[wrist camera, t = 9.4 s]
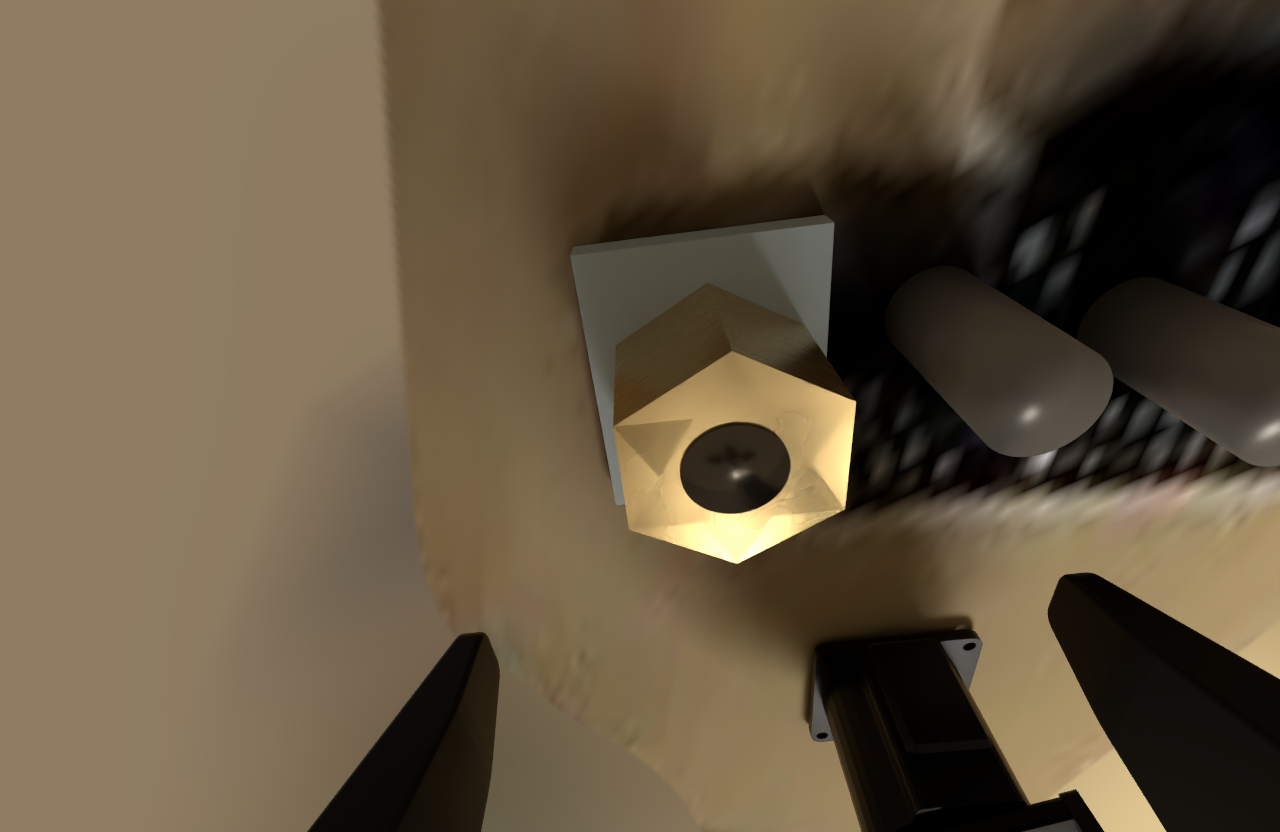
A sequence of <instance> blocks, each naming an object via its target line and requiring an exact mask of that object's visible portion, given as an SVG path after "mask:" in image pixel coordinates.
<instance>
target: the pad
mask: <svg viewBox="0 0 1280 832" xmlns="http://www.w3.org/2000/svg"><path fill="white" fill-rule="evenodd" d="M833 237H834V222H833V221H832V220H830V219H829V218H828V217H827V216H825V215H820V216H812V217H804V218H796V219H788V220H780V221H772V222H764V223H756V224H748V225H740V226H732V227H724V228H717V229H709V230H701V231H693V232H685V233H677V234H669V235H661V236H653V237H645V238H637V239H629V240H622V241H614V242H606V243H598V244H590V245H582V246H574V247H572V251H571V254H570V258H571V264H572V269H573V274H574V280H575V285H576V291H577V296H578V302H579V307H580V312H581V318H582V323H583V329H584V334H585V340H586V345H587V350H588V356H589V361H590V367H591V372H592V378H593V383H594V388H595V394H596V399H597V405H598V410H599V416H600V421H601V426H602V432H603V437H604V443H605V448H606V454H607V459H608V464H609V470H610V475H611V481H612V486H613V491H614V497H615V502H616V505H623V504H625V499H624V493H623V487H622V480H621V474H620V468H619V461H618V455H617V449H616V442H615V436H614V430H613V414H614V385H615V356H616V345H617V344H618V343H620V342H621V341H623V340H624V339H626V338H627V337H629V336H630V335H631V334H633V333H634V332H636V331H637V330H639V329H640V328H642V327H643V326H645V325H646V324H647V323H649V322H650V321H652V320H653V319H655V318H656V317H658V316H659V315H661V314H662V313H663V312H665V311H666V310H668V309H669V308H671V307H672V306H674V305H675V304H677V303H678V302H679V301H681V300H682V299H684V298H685V297H687V296H688V295H690V294H691V293H693V292H694V291H695V290H697V289H698V288H700V287H701V286H703V285H704V284H706V283H710V284H712V285H714V286H716V287H719V288H721V289H723V290H726V291H728V292H730V293H732V294H735V295H737V296H739V297H742V298H744V299H746V300H749V301H751V302H753V303H755V304H758V305H760V306H762V307H765V308H767V309H769V310H771V311H774V312H776V313H778V314H781V315H783V316H785V317H788V318H790V319H792V320H794V321H797V322H799V323H801V324H804V325H805V326H806V328H807V329H808V331H809V332H810V334H811V335H812V337H813V338H814V340H815V341H816V343H817V344H818V346H819V347H820V349H821V350H822V352H823V353H824V355H825V356H826V358H827V342H828V324H829V307H830V289H831V272H832V255H833Z"/></svg>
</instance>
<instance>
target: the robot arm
mask: <svg viewBox="0 0 1280 832" xmlns="http://www.w3.org/2000/svg"><path fill="white" fill-rule="evenodd" d="M1048 619H1049V623H1050V625H1051V628H1052V630H1053V632H1054V634H1055V636H1056V638H1057V640H1058V642H1059V644H1060V646H1061V648H1062V650H1063V652H1064V654H1065V656H1066V658H1067V660H1068V662H1069V664H1070V666H1071V668H1072V670H1073V672H1074V674H1075V676H1076V678H1077V680H1078V682H1079V684H1080V686H1081V688H1082V690H1083V692H1084V694H1085V696H1086V698H1087V700H1088V702H1089V704H1090V706H1091V708H1092V710H1093V712H1094V714H1095V716H1096V717H1097V719H1098V721H1099V723H1100V725H1101V726H1102V728H1103V730H1104V731H1105V733H1106V735H1107V737H1108V738H1109V740H1110V741H1111V743H1112V745H1113V746H1114V748H1115V750H1116V751H1117V752H1118V754H1119V756H1120V758H1121V759H1122V761H1123V762H1124V764H1125V765H1126V767H1127V769H1128V770H1129V772H1130V774H1131V775H1132V777H1133V778H1134V780H1135V782H1136V783H1137V785H1138V786H1139V788H1140V790H1141V791H1142V793H1143V795H1144V796H1145V798H1146V799H1147V801H1148V803H1149V804H1150V805H1151V807H1152V809H1153V811H1154V812H1155V814H1156V815H1157V817H1158V819H1159V820H1160V822H1161V823H1162V825H1163V827H1164V828H1165V830H1166V831H1167V832H1280V679H1278V678H1277V677H1275V676H1273V675H1271V674H1270V673H1268V672H1266V671H1265V670H1263V669H1261V668H1259V667H1258V666H1256V665H1254V664H1252V663H1251V662H1249V661H1247V660H1245V659H1244V658H1242V657H1240V656H1238V655H1237V654H1235V653H1233V652H1231V651H1230V650H1228V649H1226V648H1224V647H1223V646H1221V645H1219V644H1217V643H1216V642H1214V641H1212V640H1210V639H1209V638H1207V637H1205V636H1203V635H1202V634H1200V633H1198V632H1196V631H1195V630H1193V629H1191V628H1189V627H1188V626H1186V625H1184V624H1182V623H1181V622H1179V621H1177V620H1175V619H1174V618H1172V617H1170V616H1168V615H1167V614H1165V613H1163V612H1162V611H1160V610H1158V609H1156V608H1155V607H1153V606H1151V605H1149V604H1148V603H1146V602H1144V601H1142V600H1141V599H1139V598H1137V597H1135V596H1134V595H1132V594H1130V593H1128V592H1127V591H1125V590H1123V589H1121V588H1120V587H1118V586H1116V585H1114V584H1113V583H1111V582H1109V581H1107V580H1106V579H1104V578H1102V577H1100V576H1098V575H1096V574H1093V573H1076V574H1067V575H1064V576H1062V577H1061V578H1060V579H1059V581H1058V584H1057V586H1056V589H1055V591H1054V594H1053V597H1052V599H1051V602H1050V604H1049V607H1048ZM981 648H982V641H981V639H980V638H979V636H978V635H977V633H976V632H975V631H972V630H960V631H950V632H939V633H928V634H918V635H907V636H896V637H885V638H875V639H864V640H853V641H842V642H832V643H824V644H821V645H819V646H817V647H816V648H815V649H814V652H813V668H812V684H811V700H810V716H809V731H810V734H811V738H812V739H813V740H814V741H817V742H825V741H834V743H835V746H836V749H837V753H838V756H839V759H840V763H841V766H842V769H843V772H844V776H845V779H846V782H847V785H848V789H849V792H850V795H851V799H852V802H853V805H854V808H855V812H856V815H857V818H858V822H859V825H860V828H861V831H862V832H1104V831H1103V829H1102V828H1101V826H1100V825H1099V823H1098V822H1097V820H1096V819H1095V817H1094V816H1093V814H1092V813H1091V811H1090V810H1089V808H1088V806H1087V805H1086V804H1085V802H1084V800H1083V799H1082V797H1081V796H1080V795H1079V793H1078V792H1077V790H1076V789H1075V790H1072V791H1068V792H1064V793H1060V794H1059V798H1055V799H1051V800H1047V801H1043V802H1039V803H1035V804H1031V805H1030V803H1029V801H1028V799H1027V797H1026V795H1025V793H1024V792H1023V790H1022V788H1021V786H1020V784H1019V782H1018V781H1017V779H1016V777H1015V775H1014V773H1013V771H1012V769H1011V768H1010V766H1009V764H1008V762H1007V760H1006V758H1005V757H1004V755H1003V753H1002V751H1001V749H1000V747H999V745H998V744H997V742H996V740H995V738H994V736H993V734H992V733H991V731H990V729H989V727H988V725H987V723H986V721H985V720H984V718H983V716H982V714H981V712H980V710H979V709H978V707H977V705H976V703H975V701H974V699H973V697H972V696H971V694H970V692H969V688H970V684H971V681H972V678H973V675H974V671H975V668H976V665H977V662H978V658H979V655H980V652H981ZM499 679H500V670H499V663H498V660H497V658H496V655H495V653H494V650H493V648H492V646H491V643H490V641H489V638H488V636H487V635H486V634H485V633H484V632H476V633H466V634H461V635H460V636H458V637H457V638H456V639H455V641H454V642H453V643H452V644H451V646H450V647H449V648H448V650H447V651H446V652H445V653H444V655H443V656H442V657H441V659H440V660H439V661H438V663H437V664H436V665H435V666H434V668H433V669H432V670H431V672H430V673H429V674H428V675H427V677H426V678H425V679H424V681H423V682H422V683H421V685H420V686H419V687H418V688H417V690H416V691H415V692H414V694H413V695H412V696H411V698H410V699H409V700H408V701H407V703H406V704H405V705H404V707H403V708H402V709H401V711H400V712H399V713H398V715H397V716H396V717H395V718H394V720H393V721H392V722H391V724H390V725H389V726H388V727H387V729H386V730H385V731H384V733H383V734H382V735H381V737H380V738H379V739H378V741H377V742H376V743H375V744H374V746H373V747H372V748H371V750H370V751H369V752H368V753H367V755H366V756H365V757H364V759H363V760H362V761H361V763H360V764H359V765H358V767H357V768H356V769H355V770H354V772H353V773H352V775H351V776H350V777H349V778H348V779H347V781H346V782H345V783H344V785H343V786H342V787H341V789H340V790H339V791H338V793H337V794H336V795H335V796H334V798H333V799H332V800H331V802H330V803H329V804H328V806H327V807H326V808H325V809H324V811H323V812H322V813H321V815H320V816H319V817H318V818H317V820H316V821H315V822H314V824H313V825H312V826H311V828H310V829H309V830H308V832H481V829H482V824H483V819H484V813H485V808H486V803H487V797H488V792H489V786H490V780H491V772H492V760H493V750H494V738H495V726H496V715H497V703H498V691H499Z"/></svg>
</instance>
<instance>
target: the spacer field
mask: <svg viewBox="0 0 1280 832" xmlns="http://www.w3.org/2000/svg"><path fill="white" fill-rule="evenodd" d="M884 324H885V331H886V334H887V336H888V338H889V340H890V341H891V343H892V344H893V345H894V346H895V347H896V348H897V349H898V350H899V351H900V352H901V354H902V355H903V356H904V357H905V358H906V359H907V360H908V361H909V362H910V363H911V364H912V365H913V366H914V367H915V369H916V370H917V371H918V372H919V373H920V374H921V375H922V376H923V377H924V378H925V379H926V380H927V381H928V382H929V384H930V385H931V386H932V387H933V388H934V389H935V390H936V391H937V392H938V393H939V394H940V395H941V396H942V397H943V399H944V400H945V401H946V402H947V403H948V404H949V405H950V406H951V407H952V408H953V409H954V410H955V411H956V412H957V414H958V415H959V416H960V417H961V418H962V419H963V420H964V421H965V422H966V423H967V424H968V425H969V426H970V427H971V429H972V430H973V431H974V432H975V433H976V434H977V435H978V436H979V437H980V438H981V439H982V440H983V441H984V442H985V444H986V445H987V446H988V447H990V448H991V449H992V450H994V451H996V452H998V453H1000V454H1004V455H1007V456H1013V457H1029V456H1035V455H1040V454H1044V453H1047V452H1050V451H1053V450H1056V449H1058V448H1060V447H1062V446H1064V445H1066V444H1068V443H1070V442H1071V441H1073V440H1074V439H1076V438H1077V437H1079V436H1080V435H1081V434H1083V433H1084V432H1085V431H1086V430H1087V429H1088V428H1090V427H1091V426H1092V425H1093V424H1094V422H1095V421H1096V420H1097V419H1098V418H1099V416H1100V415H1101V414H1102V412H1103V411H1104V409H1105V407H1106V406H1107V404H1108V401H1109V399H1110V396H1111V393H1112V389H1113V376H1115V377H1116V378H1118V379H1119V380H1121V381H1122V382H1124V383H1125V384H1127V385H1128V386H1130V387H1131V388H1133V389H1135V390H1136V391H1138V392H1139V393H1141V394H1142V395H1144V396H1145V397H1147V398H1148V399H1150V400H1151V401H1153V402H1154V403H1156V404H1158V405H1159V406H1161V407H1162V408H1164V409H1165V410H1167V411H1168V412H1170V413H1171V414H1173V415H1174V416H1176V417H1177V418H1179V419H1181V420H1182V421H1184V422H1185V423H1187V424H1188V425H1190V426H1191V427H1193V428H1194V429H1196V430H1197V431H1199V432H1200V433H1202V434H1204V435H1205V436H1207V437H1208V438H1210V439H1211V440H1213V441H1214V442H1216V443H1217V444H1219V445H1220V446H1222V447H1224V448H1225V449H1227V450H1228V451H1230V452H1231V453H1233V454H1234V455H1236V456H1237V457H1239V458H1240V459H1242V460H1244V461H1245V462H1247V463H1249V464H1252V465H1257V466H1267V467H1268V466H1279V465H1280V328H1278V327H1276V326H1273V325H1271V324H1269V323H1266V322H1264V321H1261V320H1259V319H1257V318H1254V317H1252V316H1249V315H1247V314H1244V313H1242V312H1240V311H1237V310H1235V309H1232V308H1230V307H1227V306H1225V305H1223V304H1220V303H1218V302H1215V301H1213V300H1211V299H1208V298H1206V297H1203V296H1201V295H1198V294H1196V293H1194V292H1191V291H1189V290H1186V289H1184V288H1181V287H1179V286H1177V285H1174V284H1172V283H1169V282H1167V281H1165V280H1162V279H1160V278H1155V277H1140V278H1135V279H1131V280H1128V281H1125V282H1123V283H1121V284H1119V285H1117V286H1115V287H1113V288H1111V289H1110V290H1108V291H1107V292H1106V293H1104V294H1103V295H1102V296H1100V297H1099V298H1098V299H1097V300H1096V301H1095V302H1094V303H1093V304H1092V305H1091V307H1090V308H1089V309H1088V310H1087V312H1086V313H1085V315H1084V316H1083V318H1082V320H1081V322H1080V325H1079V328H1078V332H1077V340H1076V339H1074V338H1073V337H1071V336H1070V335H1068V334H1066V333H1065V332H1063V331H1062V330H1060V329H1058V328H1057V327H1055V326H1054V325H1052V324H1050V323H1049V322H1047V321H1046V320H1044V319H1042V318H1041V317H1039V316H1038V315H1036V314H1034V313H1033V312H1031V311H1030V310H1028V309H1026V308H1025V307H1023V306H1022V305H1020V304H1018V303H1017V302H1015V301H1014V300H1012V299H1010V298H1009V297H1007V296H1006V295H1004V294H1002V293H1001V292H999V291H998V290H996V289H994V288H993V287H991V286H990V285H988V284H986V283H985V282H983V281H982V280H980V279H978V278H977V277H975V276H974V275H972V274H970V273H969V272H967V271H965V270H964V269H961V268H959V267H954V266H937V267H932V268H929V269H926V270H923V271H921V272H919V273H917V274H915V275H914V276H912V277H911V278H909V279H908V280H907V281H906V282H904V283H903V284H902V285H901V286H900V287H899V288H898V290H897V291H896V292H895V294H894V295H893V297H892V298H891V300H890V302H889V304H888V306H887V310H886V313H885V322H884Z"/></svg>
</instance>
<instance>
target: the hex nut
mask: <svg viewBox="0 0 1280 832" xmlns="http://www.w3.org/2000/svg"><path fill="white" fill-rule="evenodd" d="M855 409H856V401H855V399H854V398H853V396H852V395H851V393H850V392H849V390H848V389H847V388H846V386H845V385H844V383H843V382H842V380H841V379H840V377H839V376H838V374H837V373H836V371H835V370H834V368H833V367H832V365H831V364H830V362H829V361H828V359H827V358H826V356H825V355H824V353H823V352H822V350H821V349H820V347H819V346H818V344H817V343H816V341H815V340H814V338H813V337H812V335H811V334H810V332H809V331H808V329H807V328H806V326H805V325H804V324H801V323H799V322H797V321H794V320H792V319H790V318H788V317H785V316H783V315H781V314H778V313H776V312H774V311H771V310H769V309H767V308H765V307H762V306H760V305H758V304H755V303H753V302H751V301H749V300H746V299H744V298H742V297H739V296H737V295H735V294H732V293H730V292H728V291H726V290H723V289H721V288H719V287H716V286H714V285H712V284H710V283H706V284H704V285H703V286H701V287H700V288H698V289H697V290H695V291H694V292H693V293H691V294H690V295H688V296H687V297H685V298H684V299H682V300H681V301H679V302H678V303H677V304H675V305H674V306H672V307H671V308H669V309H668V310H666V311H665V312H663V313H662V314H661V315H659V316H658V317H656V318H655V319H653V320H652V321H650V322H649V323H647V324H646V325H645V326H643V327H642V328H640V329H639V330H637V331H636V332H634V333H633V334H631V335H630V336H629V337H627V338H626V339H624V340H623V341H621V342H620V343H618V344H617V345H616V356H615V385H614V414H613V430H614V436H615V442H616V449H617V455H618V461H619V468H620V474H621V480H622V487H623V493H624V499H625V506H626V512H627V519H628V525H629V530H632V531H635V532H638V533H641V534H644V535H648V536H651V537H654V538H657V539H660V540H664V541H667V542H670V543H673V544H676V545H679V546H683V547H686V548H689V549H692V550H695V551H699V552H702V553H705V554H708V555H711V556H714V557H718V558H721V559H724V560H727V561H730V562H734V563H737V564H738V563H740V562H742V561H744V560H746V559H748V558H750V557H752V556H754V555H756V554H758V553H760V552H762V551H764V550H766V549H768V548H769V547H771V546H773V545H775V544H777V543H779V542H781V541H783V540H785V539H787V538H789V537H791V536H793V535H795V534H797V533H799V532H801V531H803V530H805V529H807V528H809V527H811V526H813V525H815V524H817V523H819V522H821V521H823V520H825V519H827V518H829V517H831V516H833V515H835V514H837V513H839V512H841V511H843V510H845V504H846V494H847V485H848V475H849V466H850V456H851V447H852V437H853V428H854V418H855Z"/></svg>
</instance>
